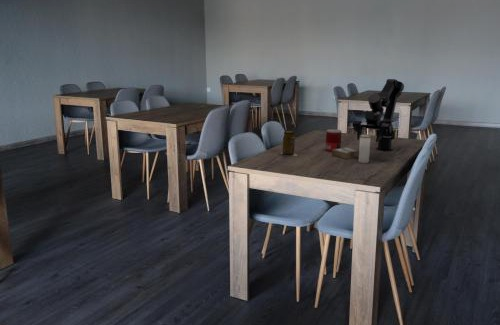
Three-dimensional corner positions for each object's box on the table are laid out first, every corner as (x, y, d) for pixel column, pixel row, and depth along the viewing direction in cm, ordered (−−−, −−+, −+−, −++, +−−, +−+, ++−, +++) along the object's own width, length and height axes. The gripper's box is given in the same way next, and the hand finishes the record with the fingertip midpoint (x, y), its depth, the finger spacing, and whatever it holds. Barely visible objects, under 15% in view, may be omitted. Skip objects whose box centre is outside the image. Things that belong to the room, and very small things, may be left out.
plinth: (345, 153, 243) (345, 147, 242) (359, 156, 235) (360, 150, 234) (331, 155, 237) (332, 149, 237) (346, 159, 230) (346, 153, 229)
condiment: (291, 152, 244) (292, 130, 241) (298, 155, 236) (299, 132, 233) (279, 153, 242) (279, 130, 239) (285, 156, 234) (286, 133, 231)
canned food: (340, 152, 245) (341, 132, 242) (325, 151, 247) (326, 131, 244) (340, 149, 252) (341, 129, 250) (325, 148, 254) (326, 129, 251)
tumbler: (364, 159, 229) (366, 134, 226) (371, 162, 224) (373, 136, 221) (355, 160, 227) (357, 135, 223) (362, 163, 222) (364, 136, 219)
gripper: (354, 104, 231) (345, 128, 224) (392, 107, 221) (383, 132, 214) (358, 118, 239) (350, 142, 232) (395, 121, 229) (386, 146, 223)
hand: (366, 140), depth 225 cm, fingers open, 9 cm apart
